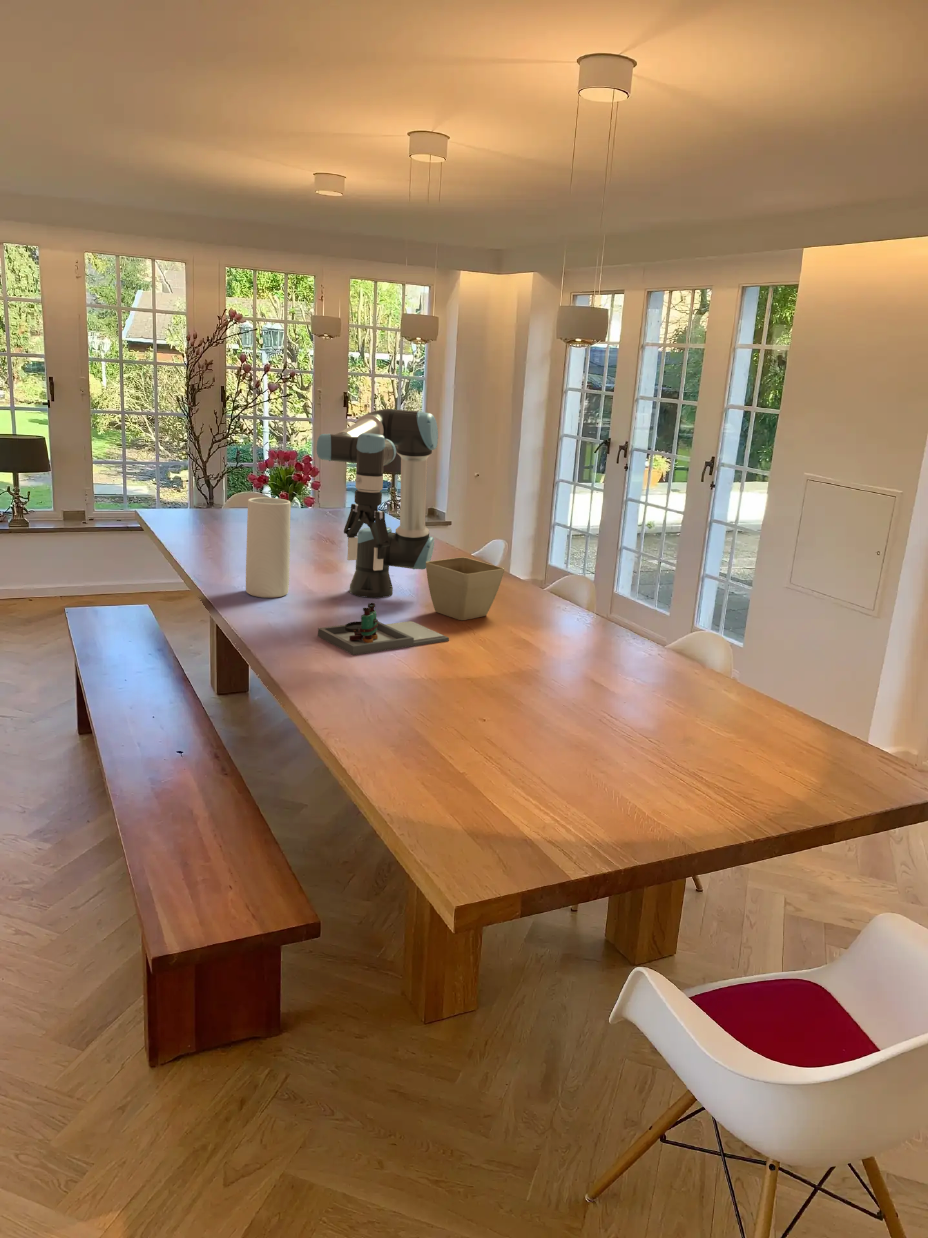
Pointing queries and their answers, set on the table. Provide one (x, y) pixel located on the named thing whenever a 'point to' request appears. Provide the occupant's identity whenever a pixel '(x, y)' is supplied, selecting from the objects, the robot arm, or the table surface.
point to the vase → (268, 547)
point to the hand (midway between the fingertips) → (364, 564)
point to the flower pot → (463, 586)
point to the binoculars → (365, 625)
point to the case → (381, 637)
